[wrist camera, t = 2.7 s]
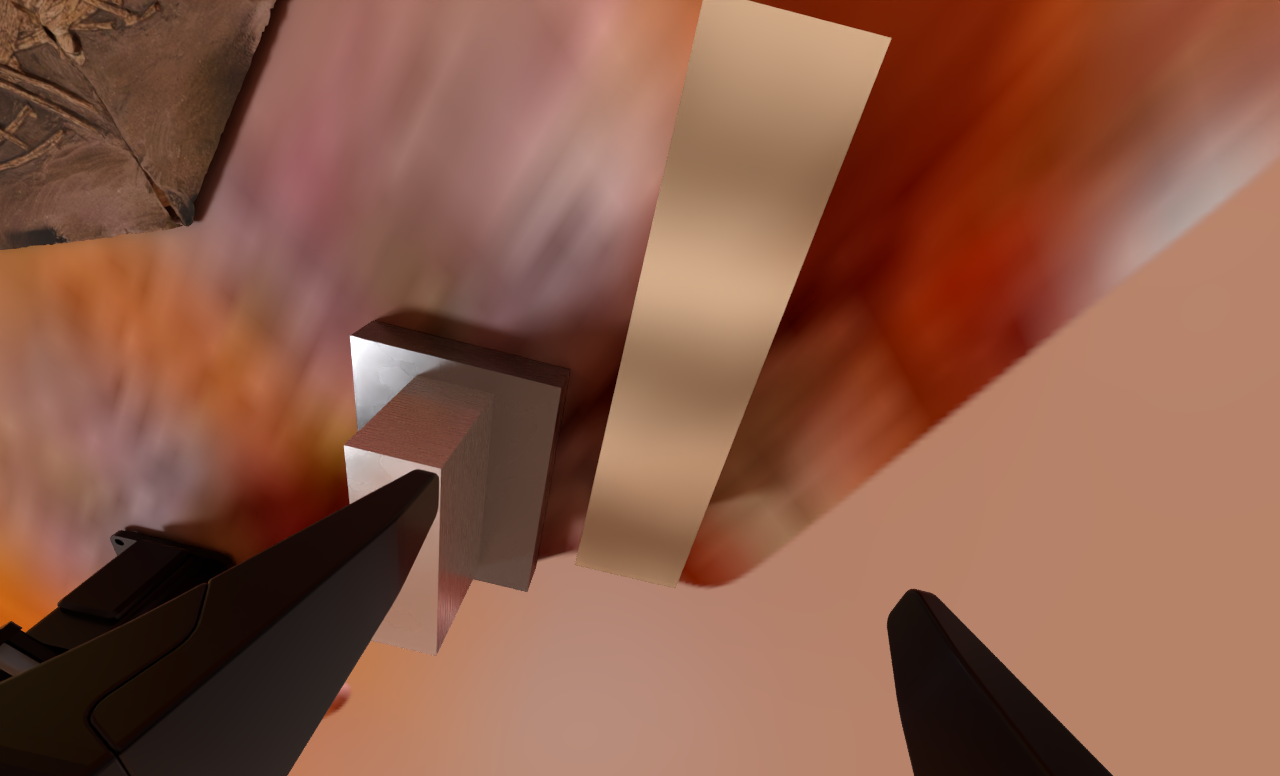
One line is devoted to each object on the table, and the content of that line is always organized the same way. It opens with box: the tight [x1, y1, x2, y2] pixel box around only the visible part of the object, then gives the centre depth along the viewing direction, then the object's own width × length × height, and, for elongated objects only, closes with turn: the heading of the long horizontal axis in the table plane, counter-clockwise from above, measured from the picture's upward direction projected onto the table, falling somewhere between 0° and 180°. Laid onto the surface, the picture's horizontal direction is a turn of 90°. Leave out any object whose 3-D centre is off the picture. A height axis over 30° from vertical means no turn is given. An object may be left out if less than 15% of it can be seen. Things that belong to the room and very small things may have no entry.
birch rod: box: [575, 0, 892, 588], centre depth 17 cm, size 18×4×4 cm, turn 168°
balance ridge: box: [344, 321, 570, 656], centre depth 20 cm, size 12×8×6 cm, turn 168°
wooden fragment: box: [0, 0, 276, 250], centre depth 17 cm, size 26×11×1 cm, turn 111°
